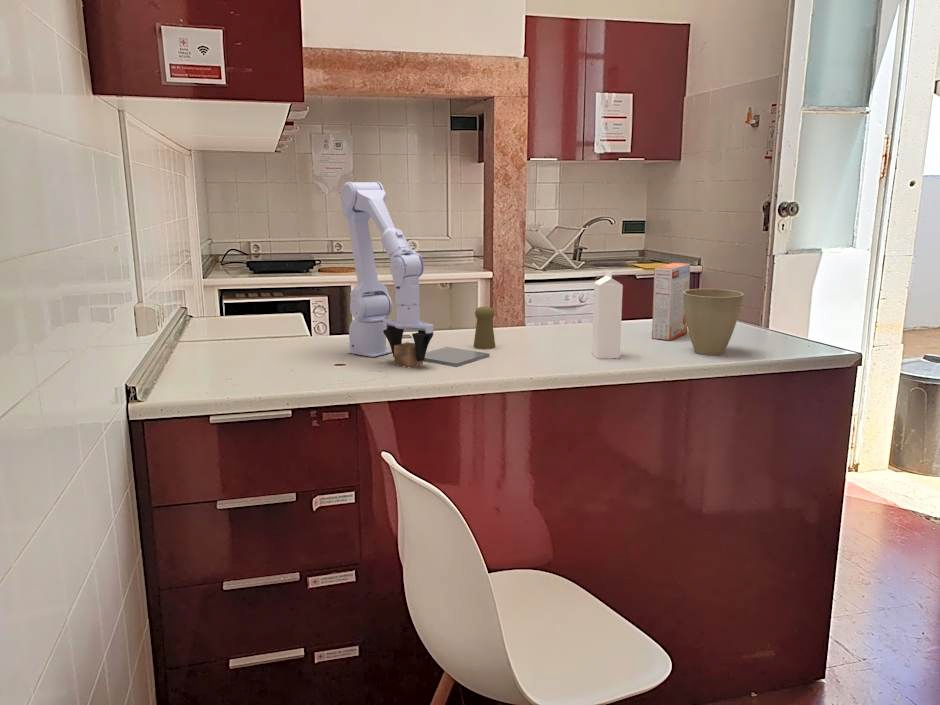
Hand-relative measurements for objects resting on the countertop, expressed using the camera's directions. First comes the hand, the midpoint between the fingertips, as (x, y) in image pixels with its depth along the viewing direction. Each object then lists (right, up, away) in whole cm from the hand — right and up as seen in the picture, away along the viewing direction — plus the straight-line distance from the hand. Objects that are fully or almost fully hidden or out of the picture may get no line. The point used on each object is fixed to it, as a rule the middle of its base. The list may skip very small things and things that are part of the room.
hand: (408, 358), depth 186 cm
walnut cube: (0, -2, 0) cm, 2 cm away
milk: (+50, 0, +9) cm, 51 cm away
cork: (+19, +3, +21) cm, 28 cm away
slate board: (+10, 0, +7) cm, 13 cm away
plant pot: (+78, +1, +13) cm, 79 cm away
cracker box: (+73, +6, +35) cm, 81 cm away
